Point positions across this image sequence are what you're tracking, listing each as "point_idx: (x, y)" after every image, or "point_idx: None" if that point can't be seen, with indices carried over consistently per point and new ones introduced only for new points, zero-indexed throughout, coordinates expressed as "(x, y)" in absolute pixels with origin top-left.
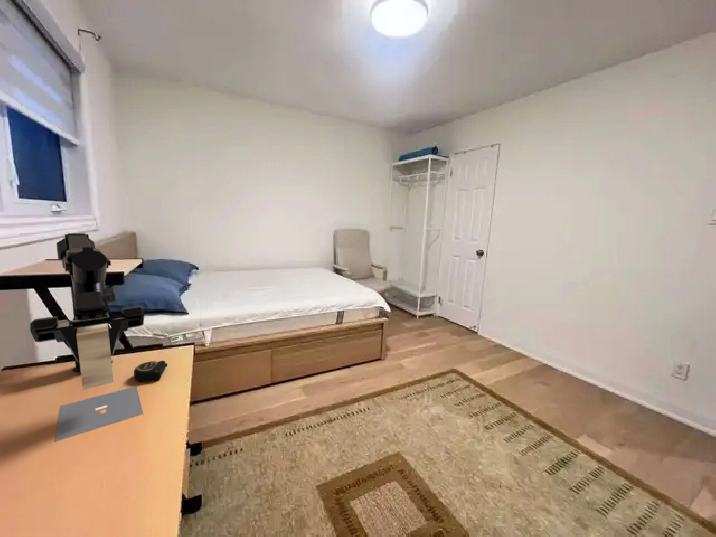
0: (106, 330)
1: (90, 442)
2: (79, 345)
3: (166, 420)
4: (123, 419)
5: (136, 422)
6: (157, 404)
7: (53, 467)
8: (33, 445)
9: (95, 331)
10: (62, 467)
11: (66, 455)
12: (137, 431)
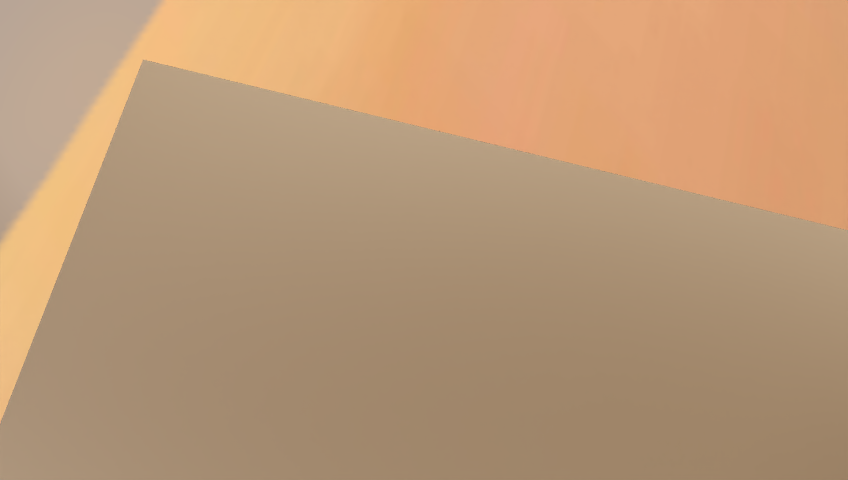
0: (205, 91)
1: (601, 165)
2: None
3: (238, 41)
4: None
5: None
6: None
7: (777, 90)
8: None
9: (594, 299)
10: (744, 57)
11: (716, 143)
12: (392, 65)
